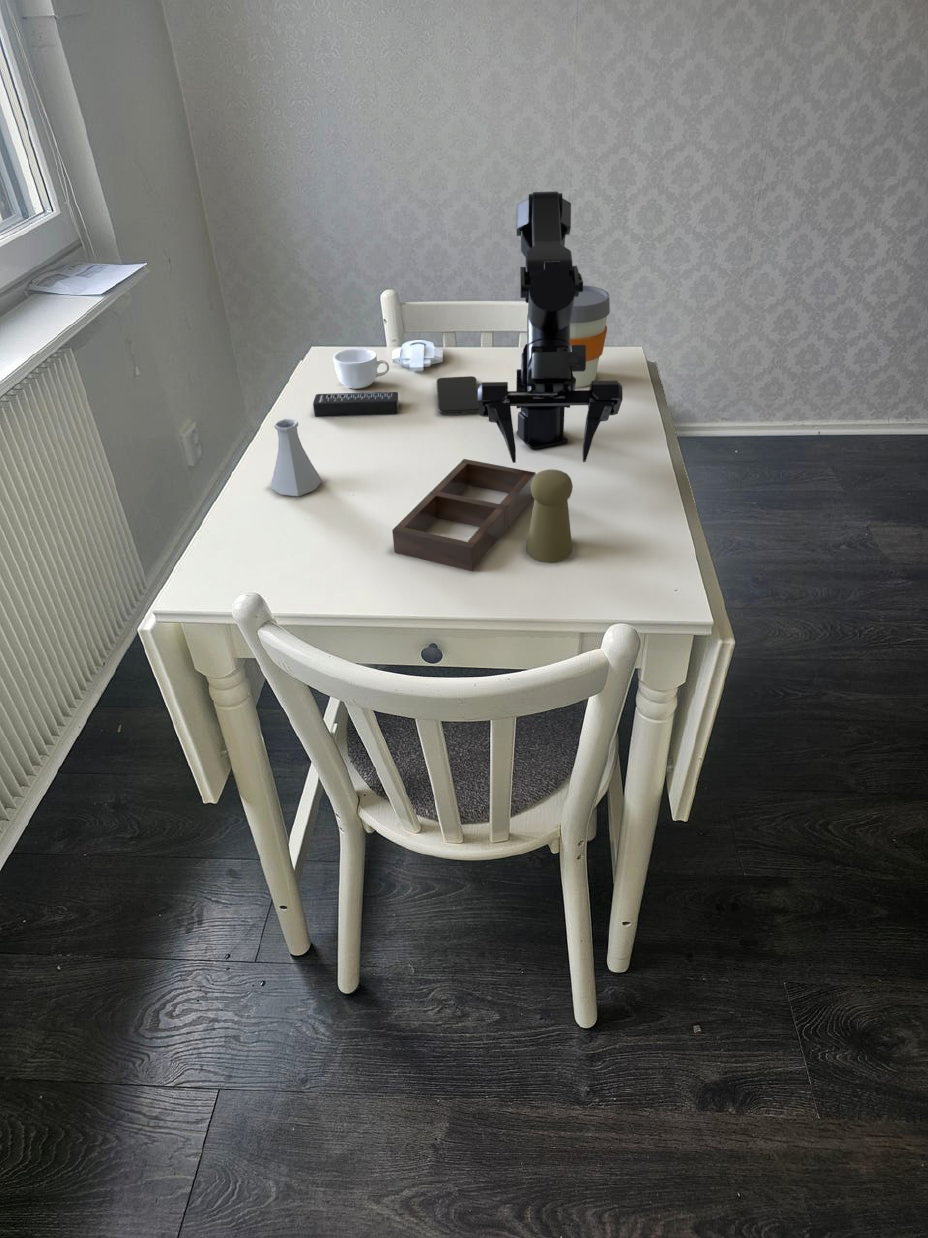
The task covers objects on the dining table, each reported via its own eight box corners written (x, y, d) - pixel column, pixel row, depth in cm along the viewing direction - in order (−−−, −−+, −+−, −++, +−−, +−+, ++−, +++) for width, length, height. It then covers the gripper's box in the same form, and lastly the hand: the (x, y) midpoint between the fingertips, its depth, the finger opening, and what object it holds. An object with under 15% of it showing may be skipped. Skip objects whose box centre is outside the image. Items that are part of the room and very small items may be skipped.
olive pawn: (578, 559, 110) (582, 483, 103) (532, 565, 109) (534, 489, 102) (564, 534, 115) (568, 460, 108) (521, 540, 114) (522, 466, 107)
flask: (299, 502, 124) (288, 438, 118) (262, 490, 127) (249, 427, 121) (330, 481, 129) (322, 419, 123) (294, 470, 132) (283, 409, 126)
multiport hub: (397, 414, 147) (396, 401, 146) (314, 416, 148) (312, 403, 146) (399, 403, 151) (398, 391, 149) (317, 405, 151) (315, 393, 150)
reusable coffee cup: (608, 367, 161) (614, 285, 152) (601, 393, 151) (607, 308, 142) (542, 363, 163) (544, 283, 154) (531, 389, 154) (532, 305, 145)
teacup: (333, 392, 156) (329, 363, 152) (341, 376, 162) (337, 348, 158) (387, 392, 155) (384, 363, 152) (393, 376, 161) (391, 348, 158)
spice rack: (464, 479, 128) (463, 458, 126) (535, 493, 124) (536, 472, 122) (394, 552, 112) (392, 529, 110) (472, 571, 108) (471, 548, 106)
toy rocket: (442, 373, 161) (442, 361, 160) (391, 375, 161) (390, 363, 160) (443, 343, 174) (442, 332, 172) (395, 345, 174) (394, 334, 173)
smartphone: (481, 413, 146) (476, 379, 158) (481, 409, 146) (476, 375, 157) (438, 416, 146) (436, 381, 158) (438, 411, 145) (436, 377, 157)
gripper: (476, 320, 107) (475, 441, 105) (627, 318, 106) (629, 440, 104) (479, 359, 118) (479, 469, 116) (616, 357, 117) (617, 468, 115)
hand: (549, 461), depth 112 cm, fingers open, 9 cm apart
